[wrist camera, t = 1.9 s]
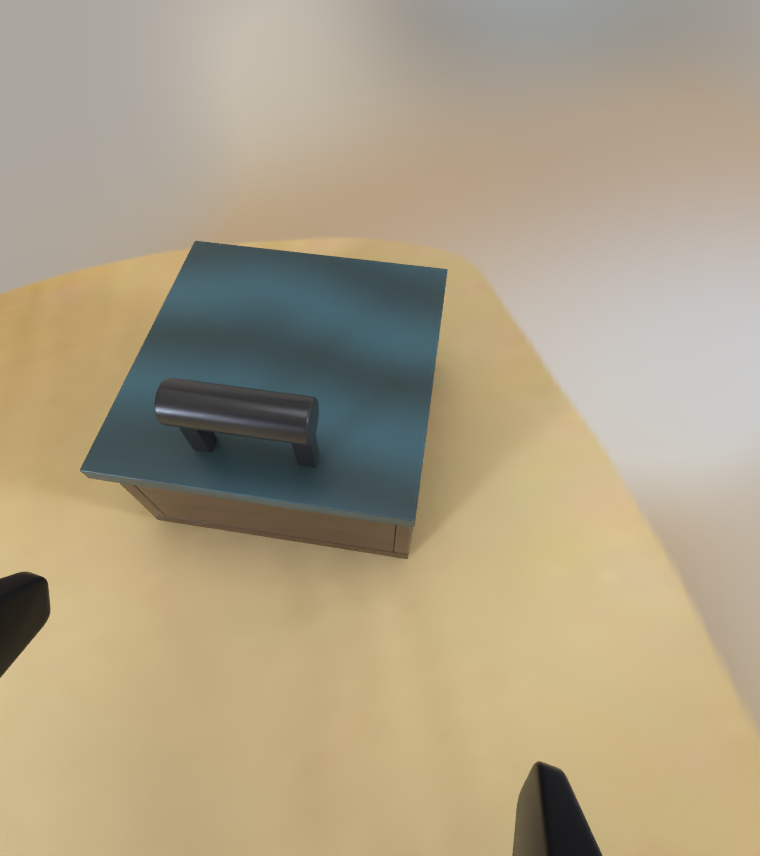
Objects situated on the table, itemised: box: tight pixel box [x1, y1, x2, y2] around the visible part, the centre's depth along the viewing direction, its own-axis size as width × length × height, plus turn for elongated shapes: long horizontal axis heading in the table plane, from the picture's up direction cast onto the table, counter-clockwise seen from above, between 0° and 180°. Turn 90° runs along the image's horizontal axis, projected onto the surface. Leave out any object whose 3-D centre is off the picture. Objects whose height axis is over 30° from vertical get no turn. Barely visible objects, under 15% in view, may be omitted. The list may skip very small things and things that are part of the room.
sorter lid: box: [80, 241, 447, 527], centre depth 20 cm, size 13×12×4 cm
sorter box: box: [120, 483, 413, 559], centre depth 25 cm, size 12×12×6 cm
